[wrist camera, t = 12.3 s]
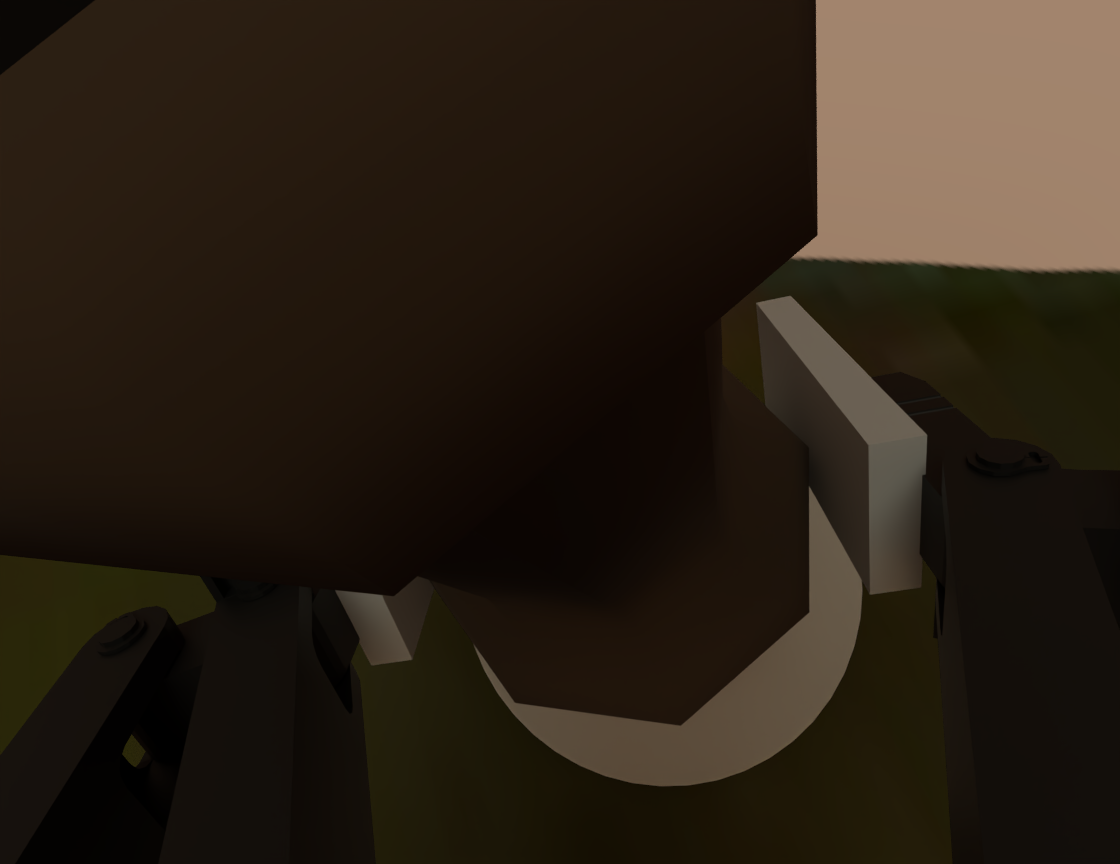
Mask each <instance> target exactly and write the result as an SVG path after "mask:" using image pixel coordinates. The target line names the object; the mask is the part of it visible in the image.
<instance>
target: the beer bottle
mask: <svg viewBox="0 0 1120 864" xmlns="http://www.w3.org/2000/svg"><path fill="white" fill-rule="evenodd" d="M816 109H817V107H816V0H0V555H8V556H18V557H27V558H37V559H46V560H55V561H65V562H74V563H84V564H93V565H103V566H112V567H121V568H131V569H140V570H150V571H159V572H169V573H178V574H187V575H197V576H206V577H216V578H225V579H235V580H244V581H253V582H263V583H272V584H282V585H291V586H301V587H310V588H319V589H329V590H338V591H348V592H357V593H367V594H376V595H385V596H395V595H396V594H397V593H399V592H400V591H401V590H402V589H403V588H404V587H406V586H407V585H408V584H409V583H410V582H411V581H413V580H414V579H415V578H416V577H417V576H418V577H421V578H424V579H427V580H429V581H430V583H431V584H432V585H433V587H434V588H435V590H436V591H437V593H438V594H439V595H440V597H441V598H442V600H443V601H444V603H445V604H446V605H447V607H448V608H449V610H450V611H451V613H452V614H453V615H454V617H455V618H456V620H457V621H458V623H459V624H460V625H461V627H462V628H463V630H464V631H465V632H466V634H467V635H468V637H469V638H470V640H471V641H472V642H473V644H474V645H475V647H476V648H477V650H478V651H479V652H480V654H481V655H482V657H483V658H484V660H485V661H486V662H487V664H488V665H489V667H490V668H491V670H492V671H493V672H494V674H495V675H496V677H497V678H498V680H499V681H500V682H501V684H502V685H503V687H504V688H505V690H506V691H507V692H508V694H509V695H510V697H511V698H512V700H513V701H514V702H515V703H519V704H526V705H533V706H540V707H548V708H555V709H562V710H569V711H577V712H584V713H591V714H598V715H606V716H613V717H620V718H627V719H635V720H642V721H649V722H656V723H664V724H671V725H678V726H681V725H682V724H683V723H685V722H686V721H687V720H688V719H689V718H690V717H691V716H693V715H694V714H695V713H696V712H697V711H698V710H699V709H700V708H702V707H703V706H704V705H705V704H706V703H707V702H708V701H710V700H711V699H712V698H713V697H714V696H715V695H716V694H718V693H719V692H720V691H721V690H722V689H723V688H724V687H725V686H727V685H728V684H729V683H730V682H731V681H732V680H733V679H735V678H736V677H737V676H738V675H739V674H740V673H741V672H742V671H744V670H745V669H746V668H747V667H748V666H749V665H750V664H752V663H753V662H754V661H755V660H756V659H757V658H758V657H759V656H761V655H762V654H763V653H764V652H765V651H766V650H767V649H769V648H770V647H771V646H772V645H773V644H774V643H775V642H776V641H778V640H779V639H780V638H781V637H782V636H783V635H784V634H786V633H787V632H788V631H789V630H790V629H791V628H792V627H793V626H795V625H796V624H797V623H798V622H799V621H800V620H801V619H803V618H804V617H805V616H806V615H807V614H808V613H809V447H808V446H807V445H806V444H805V443H804V442H803V441H802V440H801V439H800V438H799V437H797V436H796V435H795V434H794V433H793V432H792V431H791V430H790V429H789V428H788V427H787V426H786V425H785V424H784V423H783V422H782V421H781V420H780V419H779V418H778V417H777V416H776V415H774V414H773V413H772V412H771V411H770V410H769V409H768V408H767V407H766V406H765V405H764V404H763V403H762V402H761V401H760V400H759V399H758V398H757V397H756V396H755V395H754V394H753V393H751V392H750V391H749V390H748V389H747V388H746V387H745V386H744V385H743V384H742V383H741V382H740V381H739V380H738V379H737V378H736V377H735V376H734V375H733V374H732V373H731V372H730V371H728V370H727V369H726V368H725V367H724V366H723V365H722V335H721V317H722V316H723V315H724V314H726V313H727V312H728V311H729V310H730V309H731V308H733V307H734V306H735V305H736V304H737V303H738V302H740V301H741V300H742V299H743V298H744V297H746V296H747V295H748V294H749V293H750V292H751V291H753V290H754V289H755V288H756V287H757V286H758V285H760V284H761V283H762V282H763V281H764V280H765V279H767V278H768V277H769V276H770V275H771V274H772V273H774V272H775V271H776V270H777V269H778V268H780V267H781V266H782V265H783V264H784V263H785V262H787V261H788V260H789V259H790V258H791V257H792V256H794V255H795V254H796V253H797V252H798V251H799V250H800V249H802V248H803V247H804V246H805V245H806V244H808V243H809V242H810V241H811V240H812V239H813V238H815V237H816V236H817V113H816V112H817V111H816Z"/></svg>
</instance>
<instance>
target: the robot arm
mask: <svg viewBox="0 0 1120 864" xmlns="http://www.w3.org/2000/svg"><path fill="white" fill-rule="evenodd" d="M756 306H757V317H758V328H759V339H760V350H761V360H762V371H763V382H764V393H765V404H766V407H767V408H768V409H769V410H770V411H771V412H772V413H773V414H774V415H776V416H777V417H778V418H779V419H780V420H781V421H782V422H783V423H784V424H785V425H786V426H787V427H788V428H789V429H790V430H791V431H792V432H793V433H794V434H795V435H796V436H797V437H799V438H800V439H801V440H802V441H803V442H804V443H805V444H806V445H807V446H808V447H809V487H810V488H811V490H812V492H813V494H814V496H815V497H816V499H817V501H818V503H819V504H820V506H821V508H822V510H823V512H824V513H825V515H826V517H827V519H828V521H829V522H830V524H831V526H832V528H833V530H834V531H835V533H836V535H837V537H838V538H839V540H840V542H841V544H842V546H843V547H844V549H845V551H846V553H847V555H848V556H849V558H850V560H851V562H852V564H853V565H854V567H855V569H856V571H857V572H858V574H859V576H860V578H861V580H862V581H863V583H864V585H865V587H866V589H867V590H868V592H869V594H870V595H871V594H878V593H885V592H892V591H900V590H907V589H914V588H921V580H922V558H923V559H924V561H925V562H926V564H927V565H928V566H929V568H930V569H931V571H932V572H933V573H934V575H935V576H936V578H937V580H936V599H935V617H934V636H933V638H938V648H939V663H940V678H941V693H942V708H943V723H944V738H945V753H946V768H947V783H948V798H949V813H950V828H951V843H952V858H953V864H1120V471H1116V470H1072V469H1061V466H1060V464H1059V463H1058V461H1057V460H1056V459H1055V458H1054V457H1053V455H1052V454H1050V453H1049V452H1047V451H1045V450H1043V449H1041V448H1039V447H1037V446H1035V445H1032V444H1028V443H1024V442H1021V441H1017V440H1009V439H999V438H990V437H989V436H988V435H987V434H986V433H985V432H983V431H982V430H981V429H980V428H979V427H978V426H977V425H975V424H974V423H973V422H972V421H971V420H970V419H968V418H967V417H966V416H965V415H964V414H963V413H961V412H960V411H959V410H958V409H957V408H953V405H952V404H951V403H950V402H949V401H948V400H946V399H945V398H944V397H941V396H940V394H939V393H938V392H937V391H936V390H935V389H934V388H933V387H931V386H930V385H929V384H928V383H927V382H926V381H923V380H921V379H918V378H915V377H912V376H910V375H907V374H904V373H901V372H898V373H893V374H888V375H882V376H877V377H872V378H871V377H870V376H869V375H868V374H867V373H866V372H865V371H864V370H863V369H862V368H861V367H860V366H859V365H858V364H857V363H856V362H855V361H854V360H853V359H852V358H851V357H850V356H849V355H848V354H847V353H846V352H845V351H844V350H843V349H842V348H841V347H840V346H839V345H838V344H837V343H836V342H835V341H834V340H833V339H832V338H831V337H830V336H829V335H828V334H827V333H826V332H825V331H824V330H823V329H822V328H821V326H820V325H819V324H818V323H817V322H816V321H815V320H814V319H813V318H812V317H811V316H810V315H809V314H808V313H807V312H806V311H805V310H804V309H803V308H802V307H801V306H800V305H799V304H798V303H797V302H796V301H795V300H794V299H793V298H792V297H791V296H788V297H783V298H778V299H773V300H768V301H764V302H759V303H756ZM200 577H201V578H202V580H203V581H204V583H205V585H206V586H207V588H208V589H209V591H210V592H211V594H212V596H213V597H214V599H215V600H216V602H217V603H216V608H215V611H214V612H211V613H209V614H206V615H203V616H201V617H198V618H195V619H193V620H190V621H187V622H185V623H182V624H179V625H176V624H175V622H174V621H173V619H172V618H171V616H170V615H169V613H168V612H167V610H166V609H164V608H161V607H158V606H154V607H147V608H142V609H139V610H136V611H133V612H131V613H130V612H129V613H126V614H124V615H122V616H120V617H119V619H117V618H116V619H114V620H113V621H111V622H109V623H108V624H107V625H106V626H105V627H104V628H103V629H102V630H100V631H99V632H98V633H96V634H95V635H94V636H93V637H92V638H91V639H90V640H89V641H88V642H87V643H86V644H85V645H84V646H83V647H82V648H81V650H80V651H79V652H78V654H77V655H76V656H75V658H74V659H73V660H72V662H71V663H70V664H69V666H68V667H67V668H66V670H65V671H64V672H63V674H62V675H61V676H60V677H59V679H58V680H57V681H56V683H55V684H54V685H53V687H52V688H51V689H50V691H49V692H48V693H47V695H46V696H45V697H44V699H43V700H42V701H41V703H40V704H39V705H38V707H37V708H36V709H35V710H34V712H33V713H32V714H31V716H30V717H29V718H28V720H27V721H26V722H25V724H24V725H23V726H22V728H21V729H20V730H19V732H18V733H17V734H16V736H15V737H14V738H13V740H12V741H11V742H10V743H9V745H8V746H7V747H6V749H5V750H4V751H3V753H2V754H1V755H0V864H376V861H375V850H374V838H373V827H372V815H371V803H370V792H369V780H368V768H367V757H366V745H365V734H364V722H363V710H362V699H361V687H360V680H359V677H358V675H357V672H356V671H355V669H354V667H353V665H352V663H351V660H352V657H353V655H354V652H355V650H356V648H357V645H358V643H360V645H361V647H362V648H363V650H364V652H365V654H366V656H367V658H368V660H369V662H370V664H371V665H378V664H385V663H392V662H399V661H406V660H412V659H413V656H414V653H415V649H416V646H417V643H418V639H419V636H420V633H421V630H422V626H423V623H424V620H425V617H426V613H427V610H428V607H429V604H430V600H431V597H432V594H433V590H434V587H433V585H432V584H431V583H430V581H429V580H427V579H424V578H421V577H418V576H417V577H416V578H415V579H414V580H413V581H411V582H410V583H409V584H408V585H407V586H406V587H404V588H403V589H402V590H401V591H400V592H399V593H397V594H396V595H395V596H385V595H376V594H367V593H357V592H348V591H338V590H329V589H319V588H310V587H301V586H291V585H282V584H272V583H263V582H253V581H244V580H235V579H225V578H216V577H206V576H200ZM131 734H132V735H133V736H134V737H135V739H136V740H137V741H138V742H139V744H140V745H141V746H142V747H143V748H144V750H145V751H146V752H145V754H144V756H143V758H142V759H141V761H140V763H139V764H138V765H137V766H136V767H134V766H132V765H131V764H130V763H129V762H128V761H127V760H126V758H125V757H124V756H123V755H122V752H123V750H124V747H125V745H126V743H127V741H128V739H129V738H130V736H131Z"/></svg>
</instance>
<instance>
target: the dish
mask: <svg viewBox="0 0 1120 864" xmlns="http://www.w3.org/2000/svg"><path fill="white" fill-rule="evenodd" d="M861 602H862V580H861V578H860V576H859V574H858V572H857V571H856V569H855V567H854V565H853V564H852V562H851V560H850V558H849V556H848V555H847V553H846V551H845V549H844V547H843V546H842V544H841V542H840V540H839V538H838V537H837V535H836V533H835V531H834V530H833V528H832V526H831V524H830V522H829V521H828V519H827V517H826V515H825V513H824V512H823V510H822V508H821V506H820V504H819V503H818V501H817V499H816V497H815V496H814V494H813V492H812V490H811V488H810V487H809V613H808V614H807V615H806V616H805V617H804V618H803V619H801V620H800V621H799V622H798V623H797V624H796V625H795V626H793V627H792V628H791V629H790V630H789V631H788V632H787V633H786V634H784V635H783V636H782V637H781V638H780V639H779V640H778V641H776V642H775V643H774V644H773V645H772V646H771V647H770V648H769V649H767V650H766V651H765V652H764V653H763V654H762V655H761V656H759V657H758V658H757V659H756V660H755V661H754V662H753V663H752V664H750V665H749V666H748V667H747V668H746V669H745V670H744V671H742V672H741V673H740V674H739V675H738V676H737V677H736V678H735V679H733V680H732V681H731V682H730V683H729V684H728V685H727V686H725V687H724V688H723V689H722V690H721V691H720V692H719V693H718V694H716V695H715V696H714V697H713V698H712V699H711V700H710V701H708V702H707V703H706V704H705V705H704V706H703V707H702V708H700V709H699V710H698V711H697V712H696V713H695V714H694V715H693V716H691V717H690V718H689V719H688V720H687V721H686V722H685V723H683V724H682V725H681V726H678V725H671V724H664V723H656V722H649V721H642V720H635V719H627V718H620V717H613V716H606V715H598V714H591V713H584V712H577V711H569V710H562V709H555V708H548V707H540V706H533V705H526V704H519V703H515V702H514V701H513V700H512V698H511V697H510V695H509V694H508V692H507V691H506V690H505V688H504V687H503V685H502V684H501V682H500V681H499V680H498V678H497V677H496V675H495V674H494V672H493V671H492V670H491V668H490V667H489V665H488V664H487V662H486V661H485V660H484V658H483V657H482V655H481V654H480V652H479V651H478V650H477V648H476V647H475V645H474V647H475V649H476V652H477V654H478V656H479V659H480V661H481V664H482V666H483V668H484V671H485V672H486V674H487V676H488V678H489V679H490V681H491V683H492V684H493V686H494V688H495V690H496V691H497V693H498V695H499V696H500V697H501V698H502V700H503V701H504V702H505V704H506V705H507V706H508V708H509V709H510V710H511V712H512V713H513V714H514V715H515V716H516V717H517V718H518V719H519V720H520V722H521V723H522V724H523V725H524V726H525V727H526V728H527V729H528V730H529V731H530V732H531V733H532V734H533V735H535V736H536V737H537V738H539V739H540V740H541V741H542V742H544V743H545V744H546V745H548V746H549V747H550V748H551V749H553V750H554V751H555V752H557V753H559V754H560V755H562V756H564V757H566V758H567V759H569V760H571V761H572V762H574V763H576V764H578V765H579V766H582V767H584V768H587V769H589V770H592V771H594V772H596V773H599V774H601V775H604V776H607V777H611V778H614V779H618V780H622V781H626V782H630V783H636V784H645V785H654V786H685V785H694V784H700V783H705V782H711V781H716V780H720V779H723V778H726V777H728V776H731V775H734V774H737V773H740V772H743V771H746V770H748V769H749V768H751V767H753V766H755V765H757V764H759V763H761V762H763V761H765V760H767V759H769V758H771V757H772V756H773V755H775V754H776V753H777V752H779V751H780V750H782V749H783V748H784V747H786V746H787V745H789V744H790V743H791V742H793V741H794V740H795V739H796V738H797V737H798V736H799V735H800V734H801V733H802V732H803V731H804V730H805V729H806V728H807V727H808V726H809V725H810V724H811V723H812V722H813V721H814V720H815V719H816V717H817V716H818V715H819V713H820V712H821V711H822V709H823V708H824V707H825V705H826V704H827V703H828V701H829V700H830V699H831V697H832V695H833V693H834V692H835V690H836V688H837V686H838V684H839V682H840V681H841V679H842V677H843V675H844V673H845V671H846V668H847V665H848V662H849V660H850V657H851V654H852V652H853V649H854V646H855V641H856V637H857V632H858V627H859V623H860V616H861Z"/></svg>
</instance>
